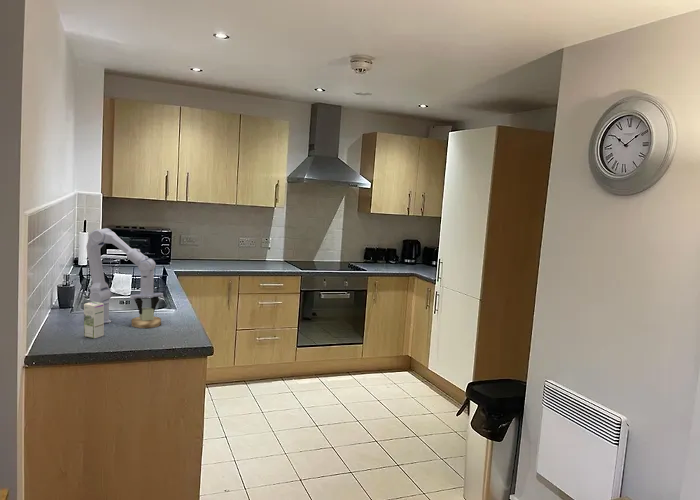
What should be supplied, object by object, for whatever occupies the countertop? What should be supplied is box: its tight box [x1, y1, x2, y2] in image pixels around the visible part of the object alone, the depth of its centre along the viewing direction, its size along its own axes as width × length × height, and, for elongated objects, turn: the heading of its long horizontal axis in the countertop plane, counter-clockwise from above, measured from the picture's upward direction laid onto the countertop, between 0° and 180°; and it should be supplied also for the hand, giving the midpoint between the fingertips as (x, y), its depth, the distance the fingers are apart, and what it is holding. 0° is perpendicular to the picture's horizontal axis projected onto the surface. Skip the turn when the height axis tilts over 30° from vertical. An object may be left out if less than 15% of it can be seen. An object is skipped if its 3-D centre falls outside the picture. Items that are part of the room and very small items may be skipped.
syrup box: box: [83, 301, 105, 339], centre depth 229 cm, size 6×6×14 cm
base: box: [131, 316, 162, 329], centre depth 253 cm, size 13×13×2 cm
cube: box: [138, 306, 155, 321], centre depth 252 cm, size 5×5×5 cm
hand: (146, 313), depth 252 cm, fingers closed on cube, 5 cm apart
